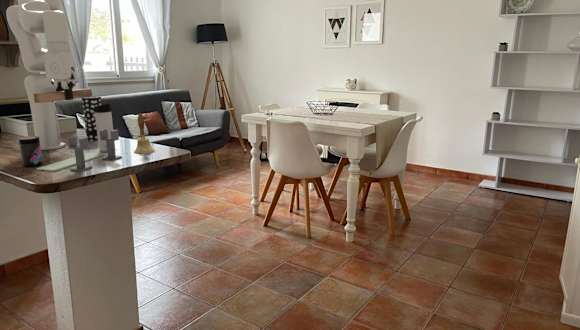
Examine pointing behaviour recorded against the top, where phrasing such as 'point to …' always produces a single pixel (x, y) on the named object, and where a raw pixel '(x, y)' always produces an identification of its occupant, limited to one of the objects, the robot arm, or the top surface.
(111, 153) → the rack
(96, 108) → the travel mug
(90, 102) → the white-spotted black cylinder
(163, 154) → the top surface
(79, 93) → the rail
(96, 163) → the top surface
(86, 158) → the mat
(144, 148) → the hand bell
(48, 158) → the top surface
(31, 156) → the supplement container
